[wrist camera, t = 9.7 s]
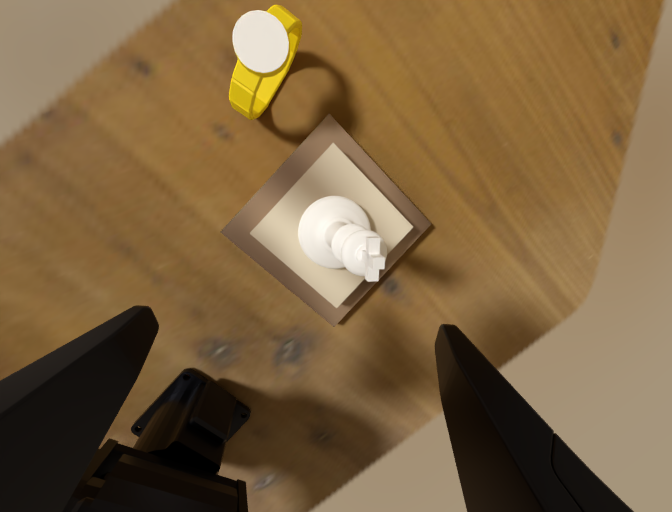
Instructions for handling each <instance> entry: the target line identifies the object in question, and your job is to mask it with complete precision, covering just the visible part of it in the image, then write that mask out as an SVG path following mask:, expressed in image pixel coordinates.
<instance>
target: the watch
mask: <svg viewBox="0 0 672 512" xmlns="http://www.w3.org/2000/svg"><path fill="white" fill-rule="evenodd" d="M301 35H302V22H301V21H300V20H299V19H298V18H296V17H295V16H294V15H293V14H292V13H290V12H289V11H288V10H287V9H285V8H284V7H283V6H280V5H273V6H272V7H271V8H269V9H268V10H267V11H266V12H265V11H260V10H256V11H250V12H248V13H246V14H244V15H243V16H241V17H240V19H239V20H238V21H237V22H236V24H235V27H234V30H233V46H234V50H235V53H236V56H237V58H238V61H237V64H236V66H235V69H234V72H233V75H232V77H233V78H232V79H231V84H230V91H229V100H230V103H231V105H232V108H234V109H235V110H237V111H238V112H240V113H241V114H243V115H244V116H245V117H247V118H248V119H250V120H253V119H256V118H258V117H259V116H260V115H261V114H262V113H263V112H264V111H265V110H266V108H268V106H269V103H270V101H271V100H272V98H273V96H274V94H275V93H276V91H277V89H278V88H279V86H280V84H281V83H282V81H283V79H284V77H285V76H286V74H287V72H288V71H289V69H290V66H291V64H292V62H293V59H294V57H295V55H296V52H297V49H298V46H299V42H300V39H301Z"/></svg>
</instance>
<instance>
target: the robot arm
mask: <svg viewBox="0 0 672 512" xmlns="http://www.w3.org/2000/svg"><path fill="white" fill-rule="evenodd" d="M158 329H159V324H158V322H157V319H156V317H155V315H154V313H153V311H152V309H151V308H150V307H149V306H133V307H132V308H130V309H128V310H126V311H124V312H123V313H121V314H119V315H117V316H115V317H114V318H112V319H110V320H108V321H106V322H105V323H103V324H101V325H99V326H98V327H96V328H94V329H92V330H90V331H89V332H87V333H85V334H83V335H81V336H80V337H78V338H76V339H74V340H72V341H71V342H69V343H67V344H65V345H63V346H62V347H60V348H58V349H56V350H54V351H53V352H51V353H49V354H47V355H46V356H44V357H42V358H40V359H38V360H37V361H35V362H33V363H31V364H29V365H28V366H26V367H24V368H22V369H20V370H19V371H17V372H15V373H13V374H11V375H10V376H8V377H6V378H4V379H3V380H1V381H0V512H248V505H247V492H246V482H245V481H242V480H239V479H238V480H237V481H235V480H232V479H229V478H226V477H222V476H219V475H218V472H219V469H220V466H221V462H222V458H223V454H224V449H225V445H226V442H227V441H228V440H229V439H230V438H231V437H232V436H233V435H234V434H235V433H236V432H237V431H238V429H239V428H240V427H241V426H242V425H243V424H244V423H245V422H246V421H247V420H248V419H249V417H250V413H251V410H250V409H249V408H248V407H247V406H245V405H244V404H243V403H241V402H240V401H238V400H237V399H236V398H235V397H234V396H232V395H231V394H230V393H228V392H227V391H225V390H224V389H222V388H221V387H219V386H218V385H216V384H215V383H213V382H211V381H208V380H207V379H205V378H204V377H203V376H201V375H200V374H198V373H197V372H195V371H194V370H192V369H184V370H183V371H182V372H181V373H180V374H179V375H178V376H177V377H176V378H175V380H174V381H173V382H172V383H171V384H170V385H169V386H168V387H167V388H166V389H165V390H164V391H163V392H162V394H161V395H160V396H159V397H158V398H157V399H156V400H155V401H154V402H153V403H152V404H151V405H150V406H149V408H148V409H147V410H146V411H145V412H144V413H143V414H142V415H141V416H140V417H139V418H138V419H137V420H136V421H135V423H134V424H133V426H132V427H131V431H132V433H133V434H135V435H137V436H138V437H139V439H138V440H137V442H136V444H135V445H134V447H133V448H131V447H128V446H124V445H121V444H118V441H116V440H113V439H110V438H109V439H108V440H107V442H106V443H105V444H104V445H103V446H102V448H101V449H98V448H99V446H100V444H101V442H102V441H103V439H104V437H105V435H106V433H107V432H108V430H109V428H110V426H111V424H112V423H113V421H114V419H115V417H116V416H117V414H118V412H119V410H120V408H121V407H122V405H123V403H124V401H125V399H126V398H127V396H128V394H129V392H130V390H131V389H132V387H133V385H134V383H135V381H136V380H137V378H138V376H139V374H140V371H141V369H142V367H143V365H144V363H145V360H146V358H147V356H148V353H149V351H150V349H151V346H152V344H153V342H154V340H155V337H156V335H157V333H158ZM435 355H436V363H437V372H438V380H439V388H440V396H441V402H442V407H443V411H444V415H445V419H446V423H447V428H448V432H449V436H450V441H451V444H452V449H453V453H454V458H455V462H456V466H457V470H458V474H459V479H460V483H461V487H462V491H463V496H464V500H465V504H466V508H467V512H634V511H633V510H631V509H630V508H629V507H628V506H627V505H626V504H625V503H624V502H623V501H622V500H621V499H620V498H619V497H618V496H617V495H616V494H615V493H614V492H612V490H611V489H610V488H609V487H608V486H607V485H606V484H604V483H603V482H602V481H601V480H600V479H599V478H598V477H597V476H596V475H595V474H594V473H593V472H592V471H591V470H590V469H589V468H588V467H587V466H586V464H585V463H584V462H583V461H582V460H581V459H580V458H579V457H578V456H577V455H576V454H575V453H574V452H573V451H572V450H571V449H570V448H569V447H568V446H567V445H566V443H565V442H564V441H563V440H562V439H561V438H560V437H559V436H558V435H557V434H555V433H554V431H553V430H552V429H551V427H549V425H548V424H547V423H546V422H545V421H544V420H543V419H542V418H541V417H540V416H539V415H538V414H537V412H536V411H535V410H534V409H533V408H532V407H531V406H530V405H529V404H528V403H527V402H526V401H525V399H524V398H523V397H522V396H521V395H520V394H519V393H518V392H517V391H516V390H515V389H514V388H513V386H511V384H510V383H509V382H508V381H507V380H506V379H505V378H504V377H503V376H502V375H501V374H500V372H499V371H498V370H497V369H496V368H495V367H494V366H493V365H492V364H491V363H490V362H489V361H488V359H487V358H486V357H485V356H484V355H483V354H482V353H481V352H480V351H479V350H478V349H477V348H476V347H475V345H474V344H473V343H472V342H471V341H470V340H469V339H468V338H467V337H466V336H465V335H464V334H463V333H462V331H461V330H460V329H459V328H458V327H457V326H455V325H450V324H442V325H441V326H440V327H439V331H438V334H437V338H436V341H435ZM186 374H187V375H189V376H190V377H186V376H185V375H186ZM242 413H246V415H243V414H242ZM137 426H140V427H141V428H138V427H137Z"/></svg>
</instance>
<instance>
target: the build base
mask: <svg viewBox="0 0 672 512" xmlns="http://www.w3.org/2000/svg"><path fill="white" fill-rule="evenodd" d="M328 196H341V197H345V198H348V199H350V200H352V201H354V202H355V203H357V204H358V205H359V206H360V207H361V208H362V209H363V211H364V212H365V213H366V215H367V217H368V219H369V222H370V227H371V231H374V232H376V233H377V234H379V235H380V236H381V237H382V238H383V240H384V241H385V244H386V247H387V257H386V261H385V268H384V269H380V270H379V279H380V278H381V277H382V276H383V275H384V274H385V273H386V272H387V271H388V269H389V268H390V267H391V266H392V265H393V264H394V263H395V262H396V261H397V260H398V259H399V258H400V257H401V256H402V255H403V254H404V253H405V252H406V250H407V249H408V248H409V247H410V246H411V245H412V244H413V243H414V242H415V241H416V240H417V239H418V238H419V237H420V236H421V235H422V234H423V232H424V231H425V230H426V229H427V228H428V227H429V226H430V225H431V223H430V222H429V221H428V220H427V219H426V218H425V217H424V215H423V214H422V213H421V212H420V211H419V210H418V209H417V208H416V207H415V206H414V205H413V204H412V202H411V201H410V200H409V199H408V198H407V197H406V196H405V195H404V194H403V193H402V192H401V191H400V190H399V188H398V187H397V186H396V185H395V184H394V183H393V182H392V181H391V180H390V179H389V178H388V177H387V175H386V174H385V173H384V172H383V171H382V170H381V169H380V168H379V167H378V166H377V165H376V164H375V162H374V161H373V160H372V159H371V158H370V157H369V156H368V155H367V154H366V153H365V152H364V151H363V150H362V148H361V147H360V146H359V145H358V144H357V143H356V142H355V141H354V140H353V139H352V138H351V137H350V135H349V134H348V133H347V132H346V131H345V130H344V129H343V128H342V127H341V126H340V125H339V124H338V122H337V121H336V120H335V119H334V118H333V117H332V116H331V115H330V114H328V115H327V116H326V117H325V118H324V120H323V121H322V122H321V123H320V124H319V125H318V126H317V127H316V128H315V129H314V130H313V132H312V133H311V134H310V135H309V136H308V137H307V138H306V139H305V140H304V141H303V142H302V144H301V145H300V146H299V147H298V148H297V149H296V150H295V151H294V152H293V153H292V154H291V155H290V157H289V158H288V159H287V160H286V161H285V162H284V163H283V164H282V165H281V166H280V167H279V169H278V170H277V171H276V172H275V173H274V174H273V175H272V176H271V177H270V178H269V179H268V181H267V182H266V183H265V184H264V185H263V186H262V187H261V188H260V189H259V190H258V191H257V193H256V194H255V195H254V196H253V197H252V198H251V199H250V200H249V201H248V202H247V203H246V205H245V206H244V207H243V208H242V209H241V210H240V211H239V212H238V213H237V214H236V215H235V217H234V218H233V219H232V220H231V221H230V222H229V223H228V224H227V225H226V226H225V227H224V228H223V230H222V231H221V233H222V234H223V235H224V236H226V237H227V238H228V239H229V240H230V241H232V242H233V243H234V244H235V245H236V246H238V247H239V248H240V249H241V250H242V251H244V252H245V253H246V254H247V255H248V256H250V257H251V258H252V259H253V260H254V261H256V262H257V263H258V264H259V265H260V266H262V267H263V268H264V269H265V270H266V271H268V272H269V273H270V274H271V275H272V276H273V277H275V278H276V279H277V280H278V281H279V282H281V283H282V284H283V285H284V286H285V287H287V288H288V289H289V290H290V291H291V292H293V293H294V294H295V295H296V296H297V297H299V298H300V299H301V300H302V301H303V302H305V303H306V304H307V305H308V306H309V307H311V308H312V309H313V310H314V311H315V312H317V313H318V314H319V315H320V316H321V317H322V318H324V319H325V320H326V321H327V322H328V323H330V324H331V325H332V326H333V327H335V326H336V325H337V323H338V322H339V321H340V320H341V319H342V318H343V317H344V316H345V315H346V314H347V313H348V312H349V311H350V310H351V309H352V308H353V307H354V305H355V304H356V303H357V302H358V301H359V300H360V299H361V298H362V297H363V296H364V295H365V294H366V293H367V292H368V291H369V290H370V289H371V287H372V286H373V285H374V284H375V283H376V282H377V281H372V282H368V281H367V280H366V279H365V276H358V275H355V274H352V273H351V272H349V271H348V270H347V269H346V267H344V268H339V269H330V268H325V267H322V266H320V265H318V264H316V263H314V262H313V261H311V260H310V259H309V258H308V257H307V256H306V254H305V253H304V251H303V250H302V248H301V245H300V242H299V238H298V227H299V223H300V220H301V217H302V215H303V214H304V212H305V211H306V209H307V208H308V207H309V206H310V205H311V204H312V203H314V202H315V201H317V200H319V199H321V198H324V197H328Z"/></svg>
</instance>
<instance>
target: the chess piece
mask: <svg viewBox="0 0 672 512" xmlns="http://www.w3.org/2000/svg"><path fill="white" fill-rule="evenodd" d="M298 238H299V242H300V245H301V248H302V250H303V251H304V253H305V254H306V256H307V257H308V258H309V259H310V260H311V261H313V262H314V263H316V264H318V265H320V266H322V267H325V268H330V269H339V268H344V267H346V269H347V270H348V271H349V272H351V273H352V274H355V275H358V276H365V279H366V280H367V281H368V282H372V281H379V270H380V269H384V268H385V261H386V257H387V247H386V244H385V241H384V240H383V238H382V237H381V236H380V235H379V234H377V233H376V232H374V231H371V227H370V222H369V219H368V217H367V215H366V213H365V212H364V211H363V209H362V208H361V207H360V206H359V205H358V204H357V203H355V202H354V201H352V200H350V199H348V198H345V197H341V196H328V197H324V198H321V199H319V200H317V201H315V202H314V203H312V204H311V205H310V206H309V207H308V208H307V209H306V211H305V212H304V214H303V215H302V217H301V220H300V223H299V227H298Z"/></svg>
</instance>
